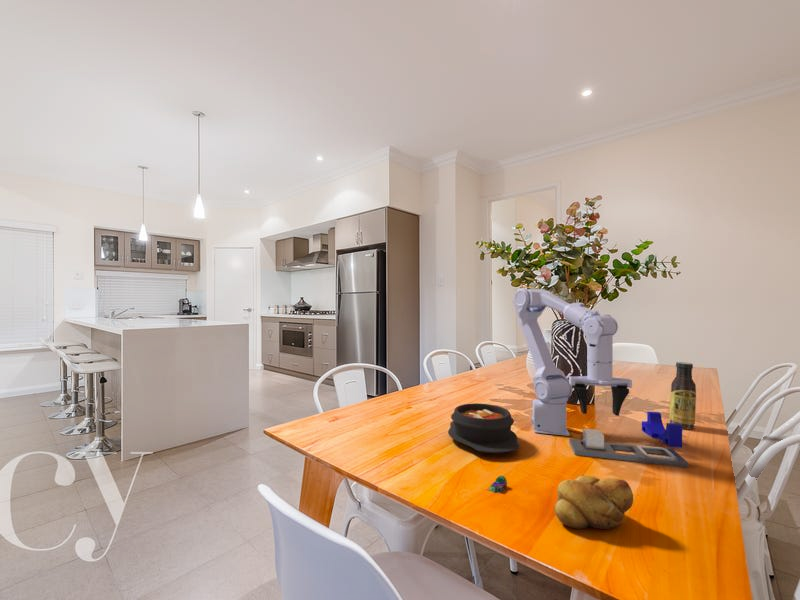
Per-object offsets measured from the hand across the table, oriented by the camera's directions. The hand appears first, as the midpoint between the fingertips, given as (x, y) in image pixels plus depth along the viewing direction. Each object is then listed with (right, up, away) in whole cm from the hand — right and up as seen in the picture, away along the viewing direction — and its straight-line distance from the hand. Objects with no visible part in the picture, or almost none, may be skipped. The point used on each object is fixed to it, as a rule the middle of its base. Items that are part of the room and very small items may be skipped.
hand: (599, 413), depth 93 cm
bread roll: (-19, -10, -29) cm, 36 cm away
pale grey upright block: (-2, -10, -1) cm, 10 cm away
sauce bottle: (+36, -10, +18) cm, 41 cm away
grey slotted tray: (+5, -9, -3) cm, 11 cm away
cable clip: (+22, -10, +8) cm, 25 cm away
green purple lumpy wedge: (-31, -10, -19) cm, 38 cm away
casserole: (-29, -10, +6) cm, 31 cm away
